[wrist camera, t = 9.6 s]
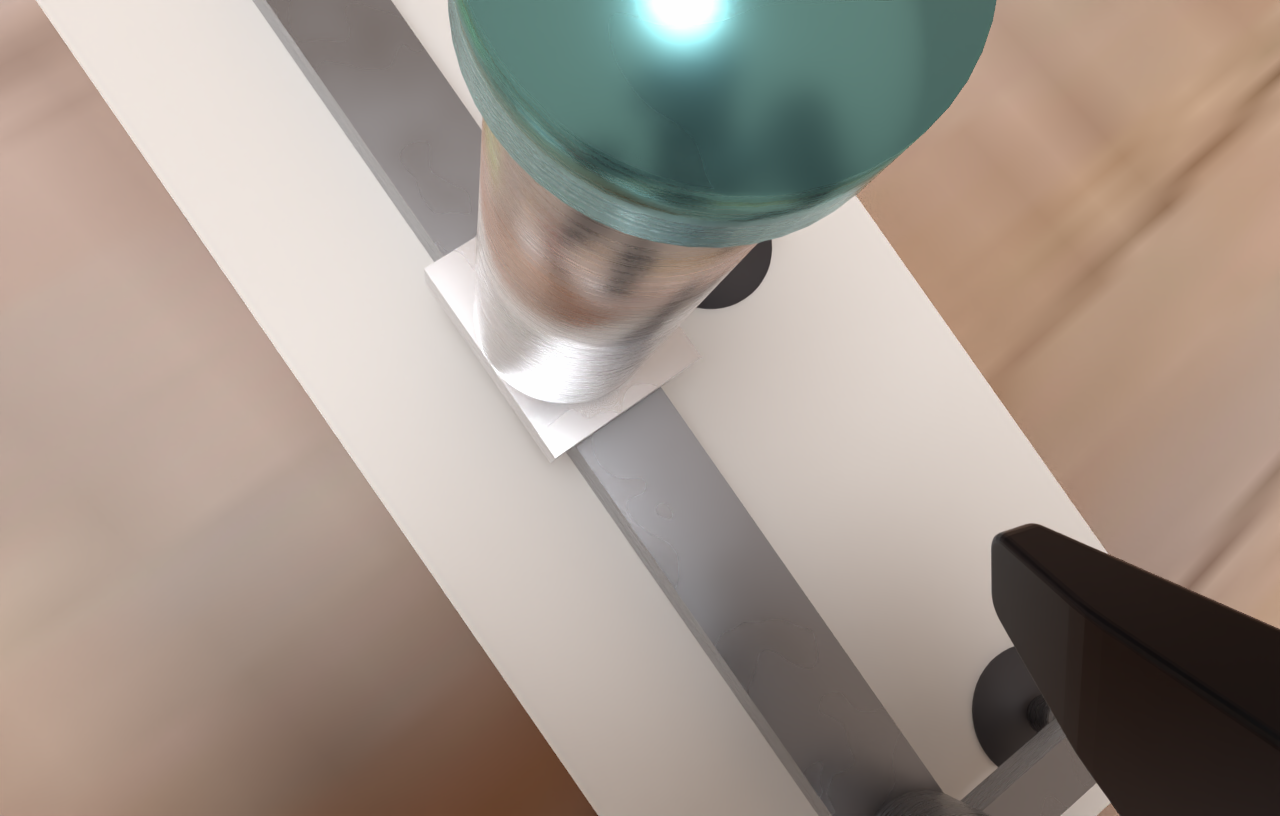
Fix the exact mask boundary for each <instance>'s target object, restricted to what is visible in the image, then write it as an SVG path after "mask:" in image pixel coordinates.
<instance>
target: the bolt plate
mask: <svg viewBox="0 0 1280 816" xmlns="http://www.w3.org/2000/svg"><path fill="white" fill-rule="evenodd" d="M36 1H37V3H38V4H39V5H40V7H41V8H42V10H43V11H44V13H45V14H46V16H47V17H48V19H49V20H50V21H51V23H52V24H53V26H54V27H55V29H56V30H57V32H58V33H59V34H60V36H61V37H62V39H63V40H64V42H65V43H66V45H67V46H68V48H69V49H70V50H71V52H72V53H73V55H74V56H75V58H76V59H77V61H78V62H79V63H80V65H81V66H82V68H83V69H84V71H85V72H86V74H87V75H88V77H89V78H90V79H91V81H92V82H93V84H94V85H95V87H96V88H97V90H98V91H99V92H100V94H101V95H102V97H103V98H104V100H105V101H106V103H107V104H108V106H109V107H110V108H111V110H112V111H113V113H114V114H115V116H116V117H117V119H118V120H119V121H120V123H121V124H122V126H123V127H124V129H125V130H126V132H127V133H128V135H129V136H130V137H131V139H132V140H133V142H134V143H135V145H136V146H137V148H138V149H139V150H140V152H141V153H142V155H143V156H144V158H145V159H146V161H147V162H148V164H149V165H150V166H151V168H152V169H153V171H154V172H155V174H156V175H157V177H158V178H159V179H160V181H161V182H162V184H163V185H164V187H165V188H166V190H167V191H168V193H169V194H170V195H171V197H172V198H173V200H174V201H175V203H176V204H177V206H178V207H179V208H180V210H181V211H182V213H183V214H184V216H185V217H186V219H187V220H188V222H189V223H190V224H191V226H192V227H193V229H194V230H195V232H196V233H197V235H198V236H199V237H200V239H201V240H202V242H203V243H204V245H205V246H206V248H207V249H208V251H209V252H210V253H211V255H212V256H213V258H214V259H215V261H216V262H217V264H218V265H219V266H220V268H221V269H222V271H223V272H224V274H225V275H226V277H227V278H228V280H229V281H230V282H231V284H232V285H233V287H234V288H235V290H236V291H237V293H238V294H239V295H240V297H241V298H242V300H243V301H244V303H245V304H246V306H247V307H248V309H249V310H250V311H251V313H252V314H253V316H254V317H255V319H256V320H257V322H258V323H259V324H260V326H261V327H262V329H263V330H264V332H265V333H266V335H267V336H268V338H269V339H270V340H271V342H272V343H273V345H274V346H275V348H276V349H277V351H278V352H279V353H280V355H281V356H282V358H283V359H284V361H285V362H286V364H287V365H288V367H289V368H290V369H291V371H292V372H293V374H294V375H295V377H296V378H297V380H298V381H299V382H300V384H301V385H302V387H303V388H304V390H305V391H306V393H307V394H308V396H309V397H310V398H311V400H312V401H313V403H314V404H315V406H316V407H317V409H318V410H319V411H320V413H321V414H322V416H323V417H324V419H325V420H326V422H327V423H328V425H329V426H330V427H331V429H332V430H333V432H334V433H335V435H336V436H337V438H338V439H339V440H340V442H341V443H342V445H343V446H344V448H345V449H346V451H347V452H348V454H349V455H350V456H351V458H352V459H353V461H354V462H355V464H356V465H357V467H358V468H359V469H360V471H361V472H362V474H363V475H364V477H365V478H366V480H367V481H368V483H369V484H370V485H371V487H372V488H373V490H374V491H375V493H376V494H377V496H378V497H379V498H380V500H381V501H382V503H383V504H384V506H385V507H386V509H387V510H388V512H389V513H390V514H391V516H392V517H393V519H394V520H395V522H396V523H397V525H398V526H399V527H400V529H401V530H402V532H403V533H404V535H405V536H406V538H407V539H408V541H409V542H410V543H411V545H412V546H413V548H414V549H415V551H416V552H417V554H418V555H419V556H420V558H421V559H422V561H423V562H424V564H425V565H426V567H427V568H428V570H429V571H430V572H431V574H432V575H433V577H434V578H435V580H436V581H437V583H438V584H439V585H440V587H441V588H442V590H443V591H444V593H445V594H446V596H447V597H448V599H449V600H450V601H451V603H452V604H453V606H454V607H455V609H456V610H457V612H458V613H459V614H460V616H461V617H462V619H463V620H464V622H465V623H466V625H467V626H468V628H469V629H470V630H471V632H472V633H473V635H474V636H475V638H476V639H477V641H478V642H479V643H480V645H481V646H482V648H483V649H484V651H485V652H486V654H487V655H488V656H489V658H490V659H491V661H492V662H493V664H494V665H495V667H496V668H497V670H498V671H499V672H500V674H501V675H502V677H503V678H504V680H505V681H506V683H507V684H508V685H509V687H510V688H511V690H512V691H513V693H514V694H515V696H516V697H517V699H518V700H519V701H520V703H521V704H522V706H523V707H524V709H525V710H526V712H527V713H528V714H529V716H530V717H531V719H532V720H533V722H534V723H535V725H536V726H537V728H538V729H539V730H540V732H541V733H542V735H543V736H544V738H545V739H546V741H547V742H548V743H549V745H550V746H551V748H552V749H553V751H554V752H555V754H556V755H557V757H558V758H559V759H560V761H561V762H562V764H563V765H564V767H565V768H566V770H567V771H568V772H569V774H570V775H571V777H572V778H573V780H574V781H575V783H576V784H577V786H578V787H579V788H580V790H581V791H582V793H583V794H584V796H585V797H586V799H587V800H588V801H589V803H590V804H591V806H592V807H593V809H594V810H595V812H596V813H597V815H598V816H818V814H817V813H816V811H815V810H814V809H813V807H812V806H811V804H810V803H809V801H808V800H807V798H806V797H805V796H804V794H803V793H802V791H801V790H800V788H799V787H798V785H797V784H796V783H795V781H794V780H793V778H792V777H791V775H790V774H789V773H788V771H787V770H786V768H785V767H784V765H783V764H782V762H781V761H780V760H779V758H778V757H777V755H776V754H775V752H774V751H773V749H772V748H771V747H770V745H769V744H768V742H767V741H766V739H765V738H764V737H763V735H762V734H761V732H760V731H759V729H758V728H757V726H756V725H755V724H754V722H753V721H752V719H751V718H750V716H749V715H748V713H747V712H746V711H745V709H744V708H743V706H742V705H741V703H740V702H739V700H738V699H737V698H736V696H735V695H734V693H733V692H732V690H731V689H730V688H729V686H728V685H727V683H726V682H725V680H724V679H723V677H722V676H721V675H720V673H719V672H718V670H717V669H716V667H715V666H714V664H713V663H712V662H711V660H710V659H709V657H708V656H707V654H706V653H705V652H704V650H703V649H702V647H701V646H700V644H699V643H698V641H697V640H696V639H695V637H694V636H693V634H692V633H691V631H690V630H689V628H688V627H687V626H686V624H685V623H684V621H683V620H682V618H681V617H680V616H679V614H678V613H677V611H676V610H675V608H674V607H673V605H672V604H671V603H670V601H669V600H668V598H667V597H666V595H665V594H664V592H663V591H662V590H661V588H660V587H659V585H658V584H657V582H656V581H655V579H654V578H653V577H652V575H651V574H650V572H649V571H648V569H647V568H646V567H645V565H644V564H643V562H642V561H641V559H640V558H639V556H638V555H637V554H636V552H635V551H634V549H633V548H632V546H631V545H630V543H629V542H628V541H627V539H626V538H625V536H624V535H623V533H622V532H621V531H620V529H619V528H618V526H617V525H616V523H615V522H614V520H613V519H612V518H611V516H610V515H609V513H608V512H607V510H606V509H605V507H604V506H603V505H602V503H601V502H600V500H599V499H598V497H597V496H596V495H595V493H594V492H593V490H592V489H591V487H590V486H589V484H588V483H587V482H586V480H585V479H584V477H583V476H582V474H581V473H580V471H579V470H578V469H577V467H576V466H575V464H574V463H573V461H572V460H571V458H570V457H569V456H568V454H567V453H564V454H563V455H562V456H560V457H559V458H557V459H556V460H554V461H553V462H551V463H550V462H549V460H548V459H547V457H546V456H545V455H544V453H543V452H542V450H541V449H540V447H539V446H538V444H537V443H536V442H535V440H534V439H533V437H532V436H531V434H530V433H529V431H528V430H527V429H526V427H525V426H524V424H523V423H522V421H521V420H520V418H519V417H518V416H517V414H516V413H515V411H514V410H513V408H512V407H511V406H510V404H509V403H508V401H507V400H506V398H505V397H504V395H503V394H502V393H501V391H500V390H499V388H498V387H497V385H496V384H495V382H494V381H493V380H492V378H491V377H490V375H489V374H488V372H487V371H486V369H485V368H484V367H483V365H482V364H481V362H480V361H479V359H478V358H477V356H476V355H475V354H474V352H473V351H472V349H471V348H470V346H469V345H468V344H467V342H466V341H465V339H464V338H463V336H462V335H461V333H460V332H459V331H458V329H457V328H456V326H455V325H454V323H453V322H452V320H451V319H450V318H449V316H448V315H447V313H446V312H445V310H444V309H443V307H442V306H441V305H440V303H439V302H438V300H437V299H436V297H435V296H434V295H433V293H432V292H431V290H430V289H429V287H428V286H427V284H426V280H425V273H424V268H426V267H427V266H429V265H431V264H432V263H434V261H433V260H432V258H431V257H430V255H429V254H428V253H427V251H426V250H425V248H424V247H423V245H422V244H421V242H420V241H419V240H418V238H417V237H416V235H415V234H414V232H413V231H412V229H411V228H410V227H409V225H408V224H407V222H406V221H405V219H404V218H403V217H402V215H401V214H400V212H399V211H398V209H397V208H396V206H395V205H394V204H393V202H392V201H391V199H390V198H389V196H388V195H387V193H386V192H385V191H384V189H383V188H382V186H381V185H380V183H379V182H378V180H377V179H376V178H375V176H374V175H373V173H372V172H371V170H370V169H369V168H368V166H367V165H366V163H365V162H364V160H363V159H362V157H361V156H360V155H359V153H358V152H357V150H356V149H355V147H354V146H353V144H352V143H351V142H350V140H349V139H348V137H347V136H346V134H345V133H344V132H343V130H342V129H341V127H340V126H339V124H338V123H337V121H336V120H335V119H334V117H333V116H332V114H331V113H330V111H329V110H328V108H327V107H326V106H325V104H324V103H323V101H322V100H321V98H320V97H319V96H318V94H317V93H316V91H315V90H314V88H313V87H312V85H311V84H310V83H309V81H308V80H307V78H306V77H305V75H304V74H303V72H302V71H301V70H300V68H299V67H298V65H297V64H296V62H295V61H294V59H293V58H292V57H291V55H290V54H289V52H288V51H287V49H286V48H285V47H284V45H283V44H282V42H281V41H280V39H279V38H278V36H277V35H276V34H275V32H274V31H273V29H272V28H271V26H270V25H269V23H268V22H267V21H266V19H265V18H264V16H263V15H262V13H261V12H260V11H259V9H258V8H257V6H256V5H255V3H254V2H253V0H36ZM391 1H392V2H393V4H394V5H395V6H396V8H397V9H398V11H399V12H400V14H401V15H402V16H403V18H404V19H405V21H406V22H407V24H408V25H409V27H410V28H411V29H412V31H413V32H414V34H415V35H416V37H417V38H418V39H419V41H420V42H421V44H422V45H423V47H424V48H425V49H426V51H427V52H428V54H429V55H430V57H431V58H432V60H433V61H434V62H435V64H436V65H437V67H438V68H439V70H440V71H441V72H442V74H443V75H444V77H445V78H446V80H447V81H448V82H449V84H450V85H451V87H452V88H453V90H454V91H455V92H456V94H457V95H458V97H459V98H460V100H461V101H462V103H463V104H464V105H465V107H466V108H467V110H468V111H469V113H470V114H471V115H472V117H473V118H474V120H475V121H476V123H477V124H478V125H479V127H480V128H481V130H482V115H481V113H480V112H479V110H478V108H477V107H476V105H475V103H474V101H473V99H472V96H471V94H470V92H469V90H468V87H467V85H466V83H465V81H464V78H463V76H462V73H461V70H460V67H459V63H458V60H457V56H456V53H455V49H454V46H453V41H452V34H451V27H450V21H449V14H448V0H391ZM679 326H680V327H681V329H682V330H683V332H684V333H685V334H686V336H687V337H688V339H689V340H690V342H691V343H692V344H693V346H694V347H695V349H696V350H697V352H698V353H699V354H700V356H701V357H702V358H700V359H699V360H698V361H697V362H695V363H694V364H693V365H692V366H691V367H689V368H688V369H686V370H685V371H684V372H682V373H681V374H679V375H678V376H676V377H675V378H673V379H672V380H670V381H669V382H668V383H666V384H665V385H663V386H662V387H661V388H662V389H663V391H664V392H665V394H666V395H667V397H668V398H669V399H670V401H671V402H672V404H673V405H674V407H675V408H676V410H677V411H678V412H679V414H680V415H681V417H682V418H683V420H684V421H685V422H686V424H687V425H688V427H689V428H690V430H691V431H692V432H693V434H694V435H695V437H696V438H697V440H698V441H699V442H700V444H701V445H702V447H703V448H704V450H705V451H706V453H707V454H708V455H709V457H710V458H711V460H712V461H713V463H714V464H715V465H716V467H717V468H718V470H719V471H720V473H721V474H722V475H723V477H724V478H725V480H726V481H727V483H728V484H729V486H730V487H731V488H732V490H733V491H734V493H735V494H736V496H737V497H738V498H739V500H740V501H741V503H742V504H743V506H744V507H745V508H746V510H747V511H748V513H749V514H750V516H751V517H752V519H753V520H754V521H755V523H756V524H757V526H758V527H759V529H760V530H761V531H762V533H763V534H764V536H765V537H766V539H767V540H768V541H769V543H770V544H771V546H772V547H773V549H774V550H775V552H776V553H777V554H778V556H779V557H780V559H781V560H782V562H783V563H784V564H785V566H786V567H787V569H788V570H789V572H790V573H791V574H792V576H793V577H794V579H795V580H796V582H797V583H798V585H799V586H800V587H801V589H802V590H803V592H804V593H805V595H806V596H807V597H808V599H809V600H810V602H811V603H812V605H813V606H814V607H815V609H816V610H817V612H818V613H819V615H820V616H821V617H822V619H823V620H824V622H825V623H826V625H827V626H828V628H829V629H830V630H831V632H832V633H833V635H834V636H835V638H836V639H837V640H838V642H839V643H840V645H841V646H842V648H843V649H844V650H845V652H846V653H847V655H848V656H849V658H850V659H851V661H852V662H853V663H854V665H855V666H856V668H857V669H858V671H859V672H860V673H861V675H862V676H863V678H864V679H865V681H866V682H867V683H868V685H869V686H870V688H871V689H872V691H873V692H874V694H875V695H876V696H877V698H878V699H879V701H880V702H881V704H882V705H883V706H884V708H885V709H886V711H887V712H888V714H889V715H890V716H891V718H892V719H893V721H894V722H895V724H896V725H897V727H898V728H899V729H900V731H901V732H902V734H903V735H904V737H905V738H906V739H907V741H908V742H909V744H910V745H911V747H912V748H913V749H914V751H915V752H916V754H917V755H918V757H919V758H920V760H921V761H922V762H923V764H924V765H925V767H926V768H927V770H928V771H929V772H930V774H931V775H932V777H933V778H934V780H935V781H936V782H937V784H938V785H939V787H940V788H941V790H942V791H943V792H944V793H945V794H947V795H949V796H951V797H953V798H955V799H957V800H959V801H960V800H962V799H963V798H964V797H965V796H966V795H967V794H968V793H970V792H971V791H972V790H973V789H974V788H975V787H976V786H978V785H979V784H980V783H981V782H982V781H983V780H984V779H986V778H987V777H988V776H989V775H990V774H991V773H993V772H994V771H995V770H996V769H997V768H998V767H999V766H1001V765H1002V764H1003V763H1004V762H1005V761H1006V760H1007V759H1009V758H1010V757H1011V756H1012V755H1013V754H1014V753H1015V752H1017V751H1018V750H1019V749H1020V748H1021V747H1022V746H1023V745H1025V744H1026V743H1027V742H1028V741H1029V740H1030V739H1031V738H1033V737H1034V736H1035V735H1036V734H1037V732H1036V731H1034V730H1033V729H1032V728H1031V726H1030V725H1029V722H1028V720H1027V708H1028V705H1029V703H1030V702H1031V700H1032V699H1033V698H1035V697H1036V696H1039V695H1042V694H1041V692H1040V690H1039V689H1038V687H1037V685H1036V683H1035V682H1034V680H1033V678H1032V676H1031V675H1030V673H1029V671H1028V669H1027V668H1026V666H1025V664H1024V662H1023V661H1022V659H1021V657H1020V655H1019V654H1018V652H1017V650H1016V648H1015V647H1014V645H1013V643H1012V641H1011V640H1010V638H1009V636H1008V634H1007V633H1006V631H1005V629H1004V627H1003V626H1002V624H1001V622H1000V620H999V618H998V616H997V614H996V611H995V608H994V605H993V601H992V594H991V544H992V540H993V538H994V536H995V535H996V534H998V533H1000V532H1003V531H1006V530H1009V529H1012V528H1015V527H1018V526H1021V525H1025V524H1028V523H1035V524H1040V525H1043V526H1045V527H1047V528H1050V529H1052V530H1054V531H1056V532H1059V533H1061V534H1063V535H1066V536H1068V537H1070V538H1072V539H1075V540H1077V541H1079V542H1082V543H1084V544H1086V545H1088V546H1091V547H1093V548H1095V549H1098V550H1100V551H1102V552H1104V553H1107V551H1106V550H1105V549H1104V547H1103V546H1102V544H1101V543H1100V542H1099V540H1098V539H1097V537H1096V536H1095V534H1094V533H1093V532H1092V530H1091V529H1090V527H1089V526H1088V524H1087V523H1086V522H1085V520H1084V519H1083V517H1082V516H1081V515H1080V513H1079V512H1078V510H1077V509H1076V507H1075V506H1074V505H1073V503H1072V502H1071V500H1070V499H1069V497H1068V496H1067V495H1066V493H1065V492H1064V490H1063V489H1062V488H1061V486H1060V485H1059V483H1058V482H1057V480H1056V479H1055V478H1054V476H1053V475H1052V473H1051V472H1050V471H1049V469H1048V468H1047V466H1046V465H1045V463H1044V462H1043V461H1042V459H1041V458H1040V456H1039V455H1038V453H1037V452H1036V451H1035V449H1034V448H1033V446H1032V445H1031V444H1030V442H1029V441H1028V439H1027V438H1026V436H1025V435H1024V434H1023V432H1022V431H1021V429H1020V428H1019V426H1018V425H1017V424H1016V422H1015V421H1014V419H1013V418H1012V417H1011V415H1010V414H1009V412H1008V411H1007V409H1006V408H1005V407H1004V405H1003V404H1002V402H1001V401H1000V399H999V398H998V397H997V395H996V394H995V392H994V391H993V390H992V388H991V387H990V385H989V384H988V382H987V381H986V380H985V378H984V377H983V375H982V374H981V372H980V371H979V370H978V368H977V367H976V365H975V364H974V363H973V361H972V360H971V358H970V357H969V355H968V354H967V353H966V351H965V350H964V348H963V347H962V346H961V344H960V343H959V341H958V340H957V338H956V337H955V336H954V334H953V333H952V331H951V330H950V328H949V327H948V326H947V324H946V323H945V321H944V320H943V319H942V317H941V316H940V314H939V313H938V311H937V310H936V309H935V307H934V306H933V304H932V303H931V301H930V300H929V299H928V297H927V296H926V294H925V293H924V292H923V290H922V289H921V287H920V286H919V284H918V283H917V282H916V280H915V279H914V277H913V276H912V274H911V273H910V272H909V270H908V269H907V267H906V266H905V265H904V263H903V262H902V260H901V259H900V257H899V256H898V255H897V253H896V252H895V250H894V249H893V247H892V246H891V245H890V243H889V242H888V240H887V239H886V238H885V236H884V235H883V233H882V232H881V230H880V229H879V228H878V226H877V225H876V223H875V222H874V221H873V219H872V218H871V216H870V215H869V213H868V212H867V211H866V209H865V208H864V206H863V205H862V203H861V202H860V201H859V199H858V198H857V196H856V195H855V196H854V197H852V198H851V199H850V200H849V201H847V202H846V203H845V204H843V205H842V206H841V207H840V208H838V209H837V210H836V211H834V212H833V213H831V214H829V215H827V216H826V217H824V218H822V219H820V220H819V221H817V222H815V223H813V224H812V225H810V226H808V227H805V228H803V229H800V230H798V231H795V232H793V233H790V234H788V235H785V236H783V237H780V238H776V239H772V240H767V241H763V242H759V243H757V245H756V246H755V247H754V248H753V249H752V250H751V251H750V252H749V253H748V254H747V255H746V256H745V257H744V258H743V259H742V260H741V261H740V262H739V263H738V264H737V265H736V267H735V268H734V269H733V270H732V271H731V272H730V273H729V274H728V275H727V276H726V277H725V278H724V279H723V280H722V281H721V282H720V283H719V284H718V285H717V286H716V288H715V289H714V290H713V291H712V292H711V293H710V294H709V295H708V296H707V297H706V298H705V299H704V300H703V301H702V302H701V303H700V304H699V305H698V306H697V307H696V308H695V310H694V311H693V312H692V313H691V314H690V315H689V316H688V317H687V318H686V319H685V320H684V321H683V322H682V323H681V324H680V325H679ZM1107 554H1108V553H1107ZM1110 803H1111V802H1110V801H1109V800H1108V798H1107V797H1106V795H1105V794H1104V793H1103V791H1102V790H1101V789H1100V787H1099V786H1098V784H1097V783H1096V784H1095V785H1094V786H1093V787H1092V788H1090V789H1089V790H1088V791H1087V792H1086V793H1085V794H1084V795H1083V796H1082V797H1080V798H1079V799H1078V800H1077V801H1076V802H1075V803H1074V804H1073V805H1072V806H1071V807H1069V808H1068V809H1067V810H1066V811H1065V812H1064V813H1063V814H1062V815H1061V816H1097V815H1098V814H1099V813H1100V812H1101V811H1102V810H1103V809H1104V808H1105V807H1107V806H1108V805H1109V804H1110Z"/></svg>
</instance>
